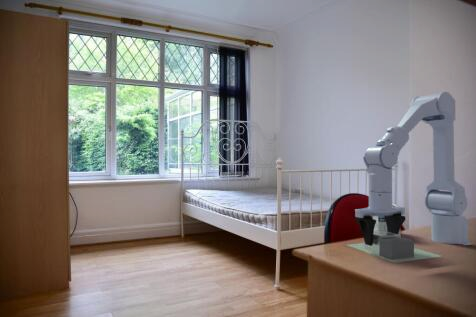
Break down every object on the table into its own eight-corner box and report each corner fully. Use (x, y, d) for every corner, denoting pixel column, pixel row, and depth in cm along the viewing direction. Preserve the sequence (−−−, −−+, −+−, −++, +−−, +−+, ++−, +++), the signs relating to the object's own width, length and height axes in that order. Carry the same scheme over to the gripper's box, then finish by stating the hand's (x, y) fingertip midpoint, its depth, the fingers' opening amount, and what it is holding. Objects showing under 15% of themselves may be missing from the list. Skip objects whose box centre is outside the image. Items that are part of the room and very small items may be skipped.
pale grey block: (381, 247, 96) (381, 229, 96) (397, 252, 90) (397, 234, 90) (364, 249, 94) (364, 231, 94) (380, 254, 88) (380, 236, 88)
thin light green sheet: (388, 243, 104) (388, 226, 104) (442, 260, 87) (442, 240, 87) (345, 248, 99) (345, 230, 99) (394, 266, 82) (394, 245, 82)
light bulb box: (401, 242, 106) (401, 206, 106) (377, 241, 108) (377, 205, 108) (393, 234, 117) (393, 202, 117) (371, 233, 118) (371, 201, 118)
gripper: (390, 189, 98) (391, 238, 98) (347, 191, 94) (347, 242, 94) (411, 191, 92) (411, 243, 92) (365, 193, 87) (365, 248, 87)
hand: (380, 243), depth 92 cm, fingers open, 7 cm apart
